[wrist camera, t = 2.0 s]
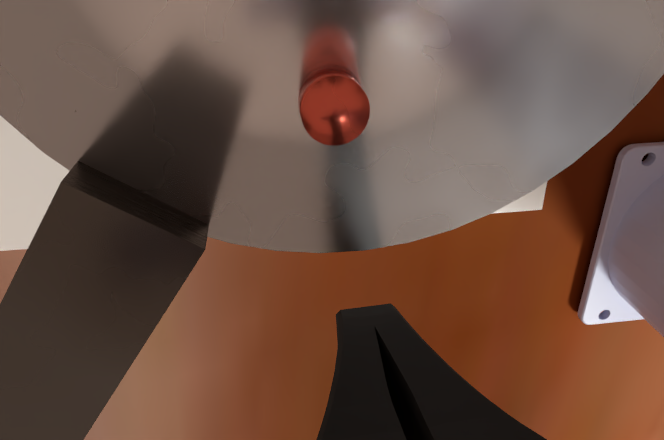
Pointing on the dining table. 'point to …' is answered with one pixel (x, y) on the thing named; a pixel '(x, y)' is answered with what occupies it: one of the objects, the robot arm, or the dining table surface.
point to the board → (46, 175)
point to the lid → (274, 147)
